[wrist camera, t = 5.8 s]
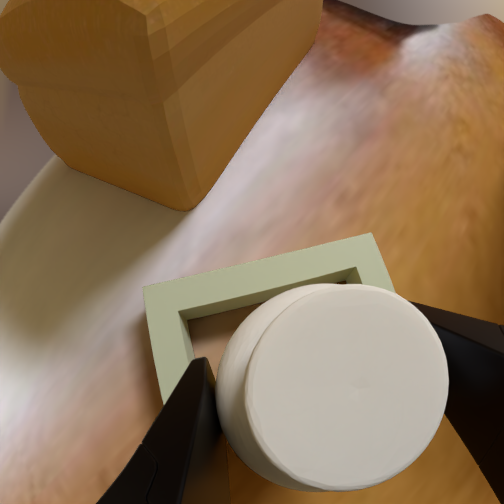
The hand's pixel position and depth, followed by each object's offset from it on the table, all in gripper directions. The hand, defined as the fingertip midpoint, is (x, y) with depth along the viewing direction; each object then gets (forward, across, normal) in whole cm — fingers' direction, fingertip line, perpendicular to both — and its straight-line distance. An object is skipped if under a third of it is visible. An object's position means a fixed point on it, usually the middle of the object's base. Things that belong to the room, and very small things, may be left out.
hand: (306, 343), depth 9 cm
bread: (+21, 0, -11) cm, 23 cm away
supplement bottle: (+4, 0, +6) cm, 7 cm away
